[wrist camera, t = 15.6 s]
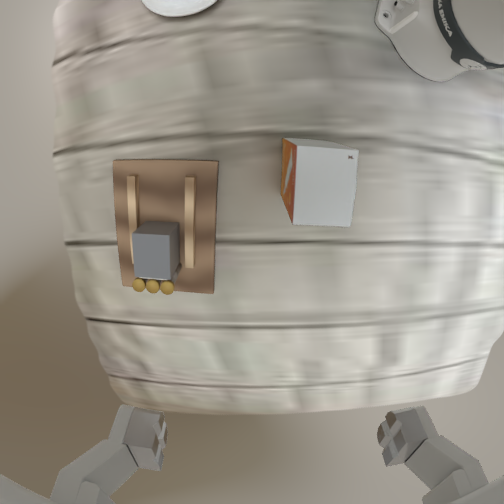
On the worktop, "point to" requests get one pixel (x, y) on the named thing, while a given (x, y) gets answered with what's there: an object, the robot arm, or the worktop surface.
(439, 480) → the robot arm
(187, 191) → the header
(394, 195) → the worktop surface
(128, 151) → the worktop surface
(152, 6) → the spoon rest
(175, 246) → the grey block
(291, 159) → the small box
